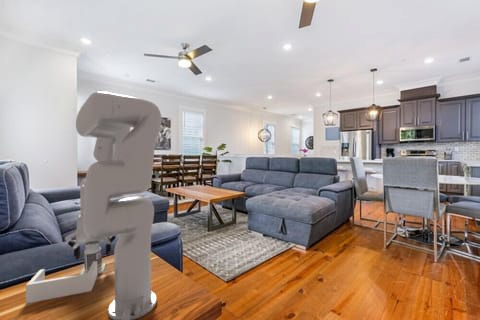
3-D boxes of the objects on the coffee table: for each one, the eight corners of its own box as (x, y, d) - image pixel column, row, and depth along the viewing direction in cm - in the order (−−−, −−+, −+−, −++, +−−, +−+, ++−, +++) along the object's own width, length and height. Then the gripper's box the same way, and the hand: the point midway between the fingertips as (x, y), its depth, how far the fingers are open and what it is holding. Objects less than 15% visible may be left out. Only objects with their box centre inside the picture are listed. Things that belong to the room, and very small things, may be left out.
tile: (103, 272, 85) (103, 271, 85) (79, 276, 82) (79, 275, 82) (106, 264, 92) (106, 262, 92) (84, 267, 89) (84, 266, 89)
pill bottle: (105, 265, 90) (104, 240, 89) (94, 273, 84) (94, 246, 84) (92, 264, 90) (91, 239, 90) (80, 272, 85) (79, 245, 84)
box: (91, 291, 74) (91, 274, 74) (26, 303, 68) (25, 285, 68) (97, 275, 83) (97, 260, 83) (40, 285, 77) (40, 269, 77)
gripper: (119, 207, 94) (119, 248, 94) (68, 210, 87) (68, 255, 87) (117, 211, 87) (117, 256, 87) (61, 215, 80) (62, 264, 81)
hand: (93, 255), depth 87 cm, fingers open, 9 cm apart
